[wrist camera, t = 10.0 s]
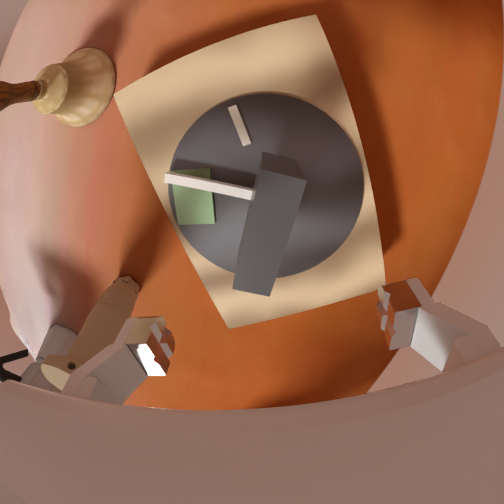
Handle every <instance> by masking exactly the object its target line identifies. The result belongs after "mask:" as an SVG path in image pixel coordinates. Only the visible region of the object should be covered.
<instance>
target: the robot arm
mask: <svg viewBox="0 0 504 504" xmlns="http://www.w3.org/2000/svg"><path fill="white" fill-rule="evenodd" d="M378 297H379V299H380V301H379V303H378V304H377V319H378V323H379V326H380V328H381V329H382V330H383V331H385V334H384V338H385V341H386V343H387V346H388V348H389V350H393V349H398V348H402V347H407V346H411V348H413V349H414V350H415V351H417V352H418V353H419V354H420V355H422V356H423V357H425V358H426V359H427V360H428V361H429V362H431V363H432V364H433V365H434V366H436V367H437V368H438V369H440V370H441V371H442V373H439V374H436V375H433V376H430V377H426V378H423V379H420V380H417V381H414V382H410V383H406V384H403V385H399V386H395V387H392V388H388V389H384V390H379V391H375V392H371V393H366V394H362V395H357V396H352V397H347V398H341V399H335V400H329V401H323V402H317V403H309V404H302V405H293V406H284V407H273V408H259V409H240V410H183V409H164V408H151V407H140V406H131V405H122V404H123V403H124V402H125V401H126V400H127V398H128V397H129V396H130V395H131V394H132V393H133V392H134V391H135V390H136V389H137V388H138V387H139V386H140V384H141V383H142V382H143V381H144V380H145V379H146V378H147V377H148V376H147V375H166V374H167V371H168V368H169V365H170V361H169V359H168V358H169V357H170V356H172V355H173V352H174V349H175V341H174V337H173V335H172V333H171V331H169V330H168V329H166V324H167V323H166V321H165V319H164V318H163V317H162V316H148V317H131V318H128V319H127V320H126V322H125V323H124V325H123V327H122V329H121V331H120V332H119V334H118V336H117V338H116V340H115V342H114V343H113V344H110V345H109V346H107V347H106V348H105V349H103V350H102V351H101V352H99V353H98V354H97V355H95V356H94V357H93V358H91V359H90V360H89V361H87V362H86V363H85V364H83V365H82V366H81V367H79V368H78V369H77V370H75V371H74V372H73V373H71V375H70V377H69V378H68V380H67V382H66V384H65V386H64V388H63V390H62V391H61V393H56V392H52V391H48V390H44V389H40V388H37V387H33V386H29V385H26V384H23V383H20V382H17V381H14V380H6V381H4V382H2V383H1V384H0V504H504V347H503V348H501V346H500V344H499V343H498V341H497V340H496V338H495V337H494V335H493V334H492V332H491V331H490V330H489V328H488V326H486V325H484V324H482V323H480V322H478V321H476V320H474V319H472V318H470V317H467V316H466V315H464V314H462V313H460V312H458V311H455V310H453V309H451V308H449V307H447V306H445V305H443V304H441V303H434V301H433V299H432V298H431V296H430V295H429V293H428V292H427V291H426V289H425V288H424V286H423V285H422V284H421V282H420V281H419V279H418V278H416V277H415V278H411V279H406V280H404V281H399V282H395V283H390V284H385V285H380V286H379V288H378Z"/></svg>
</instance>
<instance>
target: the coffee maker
mask: <svg viewBox="0 0 504 504" xmlns="http://www.w3.org/2000/svg"><path fill="white" fill-rule="evenodd" d="M77 336H78V335H77V334H76V333H75V332H74V331H73V330H71V329H69V328H66V327H64V326H61V325H59V324H55V325H53V326H52V327H51V328H49V330H48V332H47V335H46V337H45V339H44V341H43V344H42V346H41V348H40V351H39V353H38V356H37V358H36V360H37V361H36V363H31V364H30V366H29V367H28V368H27V369H26V370H25V372H24V373H23V374H22V375H21V376H18V375H16V374H13V373H11V372H9V371H7V370H5V369H4V368H3V364H4V363H7V362H11V361H14V360H17V359H21V358H24V357H27V356H28V349H26V350H22V351H19V352H16V353H12V354H9V355H6V356H2V357H0V381H1V382H4V381H6V380H14V381H17V382H20V383H23V384H26V385H29V386H33V387H37V388H40V389H44V390H48V391H52V392H56V393H61V390H60V389H58V388H57V387H56V386H54V385H53V384H52V383H50V382H49V381H48V380H47V378H46V377H45V376H44V374H43V372H42V370H41V365H42V363H43V361H44V360H45V358H46V357H47V356H48V355H49V354H51V355H60V356H66V355H67V353H68V352H69V350H70V349H71V347H72V345H73V343H74V342H75V340H76V338H77Z"/></svg>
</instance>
